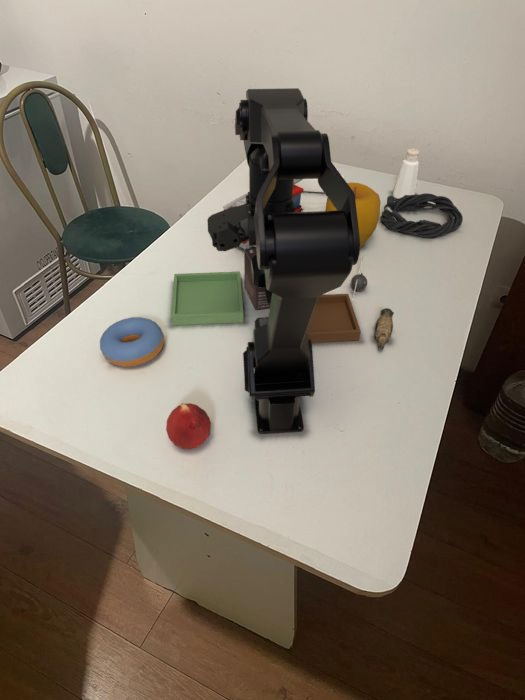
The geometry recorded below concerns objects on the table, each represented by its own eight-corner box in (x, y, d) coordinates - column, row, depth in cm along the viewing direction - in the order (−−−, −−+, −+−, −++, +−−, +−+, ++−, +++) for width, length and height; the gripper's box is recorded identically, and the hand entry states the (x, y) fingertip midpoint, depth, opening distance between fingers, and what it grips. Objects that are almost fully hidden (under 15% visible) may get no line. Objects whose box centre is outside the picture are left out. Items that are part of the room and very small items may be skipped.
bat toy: (343, 312, 91) (347, 291, 88) (355, 265, 102) (359, 245, 98) (360, 315, 91) (364, 294, 87) (370, 268, 101) (374, 247, 98)
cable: (462, 215, 117) (467, 198, 114) (456, 247, 107) (462, 228, 104) (386, 202, 121) (390, 184, 118) (375, 231, 111) (378, 213, 108)
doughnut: (98, 339, 85) (92, 317, 82) (158, 325, 88) (154, 304, 85) (107, 380, 79) (101, 359, 75) (171, 364, 81) (168, 343, 78)
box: (254, 312, 76) (254, 271, 71) (243, 288, 80) (243, 248, 75) (293, 305, 77) (296, 264, 72) (280, 282, 82) (282, 242, 76)
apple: (383, 254, 105) (395, 195, 96) (336, 264, 102) (344, 205, 93) (357, 228, 112) (366, 171, 103) (312, 237, 109) (317, 179, 100)
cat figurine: (392, 322, 89) (396, 307, 85) (387, 359, 84) (391, 345, 81) (376, 319, 89) (379, 304, 86) (370, 356, 85) (373, 342, 82)
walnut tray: (359, 340, 86) (360, 331, 84) (298, 343, 85) (299, 334, 84) (346, 302, 93) (348, 293, 92) (291, 305, 93) (291, 295, 91)
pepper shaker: (418, 194, 124) (429, 148, 116) (410, 203, 121) (420, 157, 113) (397, 188, 126) (406, 143, 119) (388, 197, 123) (397, 151, 115)
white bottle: (341, 196, 123) (344, 179, 120) (288, 191, 124) (289, 175, 121) (342, 184, 127) (345, 167, 124) (291, 179, 129) (292, 163, 126)
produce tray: (243, 322, 89) (243, 312, 87) (172, 325, 88) (171, 315, 87) (240, 280, 98) (239, 271, 96) (175, 282, 97) (174, 273, 95)
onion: (212, 426, 73) (209, 388, 67) (211, 460, 68) (207, 423, 63) (171, 426, 72) (165, 388, 67) (167, 461, 68) (160, 423, 63)
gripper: (207, 163, 73) (213, 256, 84) (211, 232, 60) (217, 332, 70) (284, 161, 74) (280, 253, 85) (306, 228, 61) (297, 328, 71)
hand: (268, 288), depth 78 cm, fingers closed on box, 6 cm apart
